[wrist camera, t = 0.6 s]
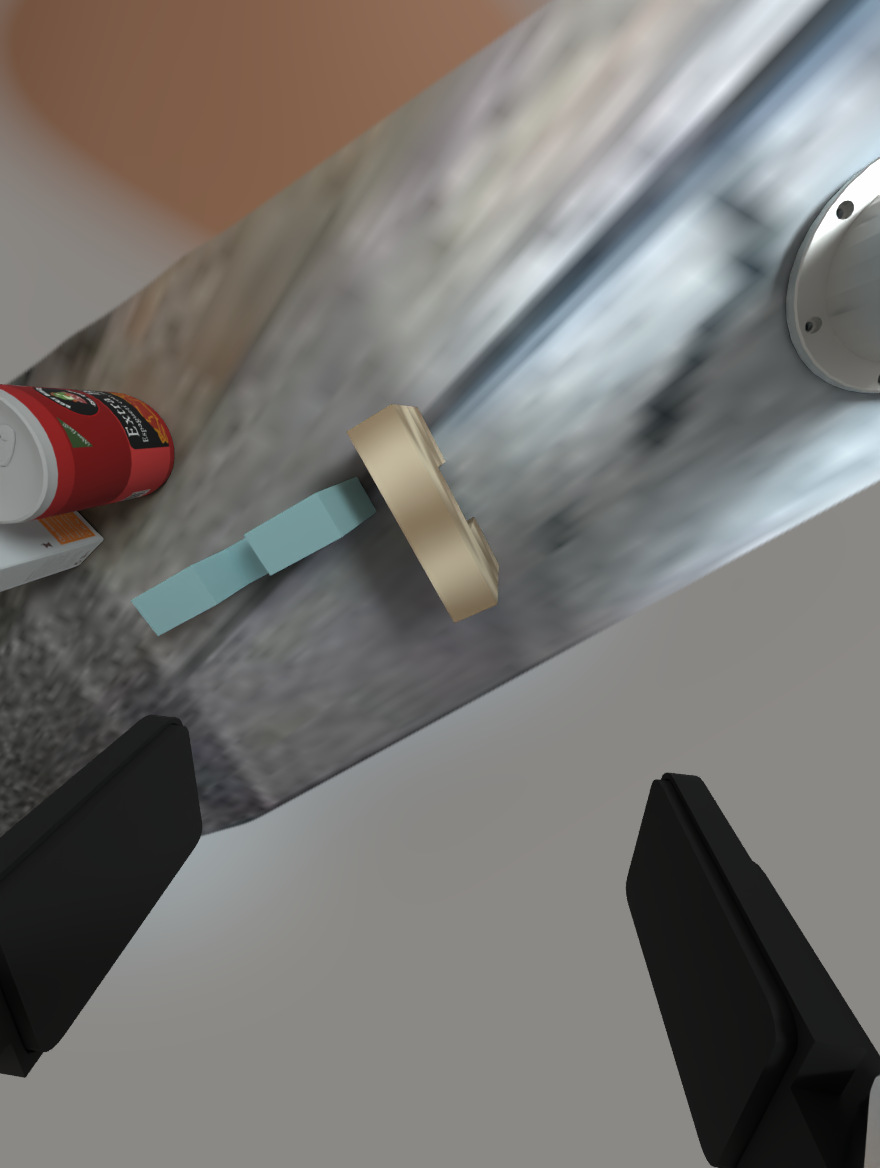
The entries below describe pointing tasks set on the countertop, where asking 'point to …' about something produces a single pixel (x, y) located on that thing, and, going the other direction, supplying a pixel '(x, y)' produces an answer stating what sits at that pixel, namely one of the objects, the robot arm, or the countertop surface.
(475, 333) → the countertop surface
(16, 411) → the canned food
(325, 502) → the light blue block
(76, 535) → the skincare box
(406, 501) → the beige flat block
